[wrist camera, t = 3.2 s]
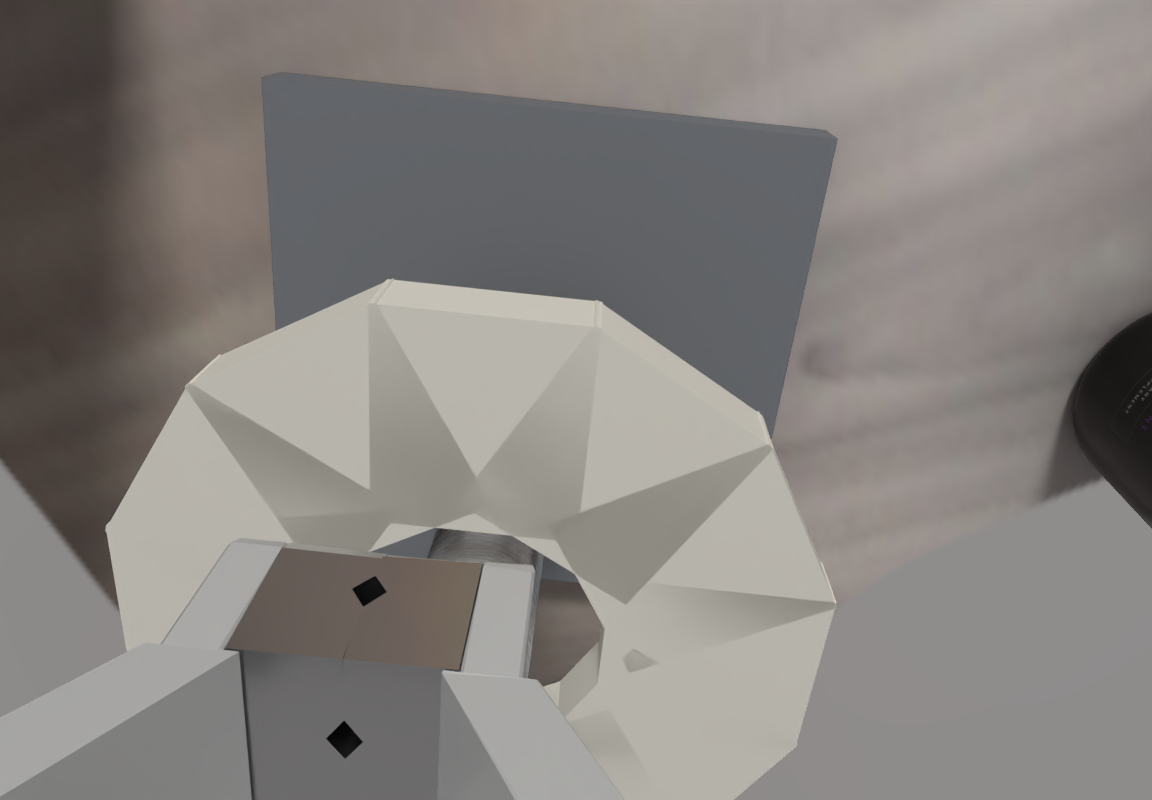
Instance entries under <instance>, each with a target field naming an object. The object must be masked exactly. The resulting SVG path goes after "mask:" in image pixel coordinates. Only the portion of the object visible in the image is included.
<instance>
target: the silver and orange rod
mask: <svg viewBox="0 0 1152 800" xmlns="http://www.w3.org/2000/svg"><path fill="white" fill-rule="evenodd" d="M543 556H544V555H543V554H541V553H539V552H538V551H536V550H534V549H533V548H531V547H529V546H528V545H526V544H525V543H523V542H521V541H520V540H518V539H516V538H515V537H513V536H510V535H500V534H491V533H481V532H471V531H462V530H452V529H443V528H437V530H436V533H435V536H434V539H433V542H432V545H431V548H430V551H429V554H428V557H427V559H439V560H450V561H461V562H473V563H483V564H485V563H486V562H492V563H507V564H523V565H533V567H534V569H535V579H534V590H533V600H532V611H531V622H530V632H529V643H528V654H527V664H526V675H525V678H526V679H528V674H529V666H530V658H531V650H532V642H533V635H534V627H535V619H536V611H537V603H538V596H539V588H540V580H541V572H542V564H543Z"/></svg>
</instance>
